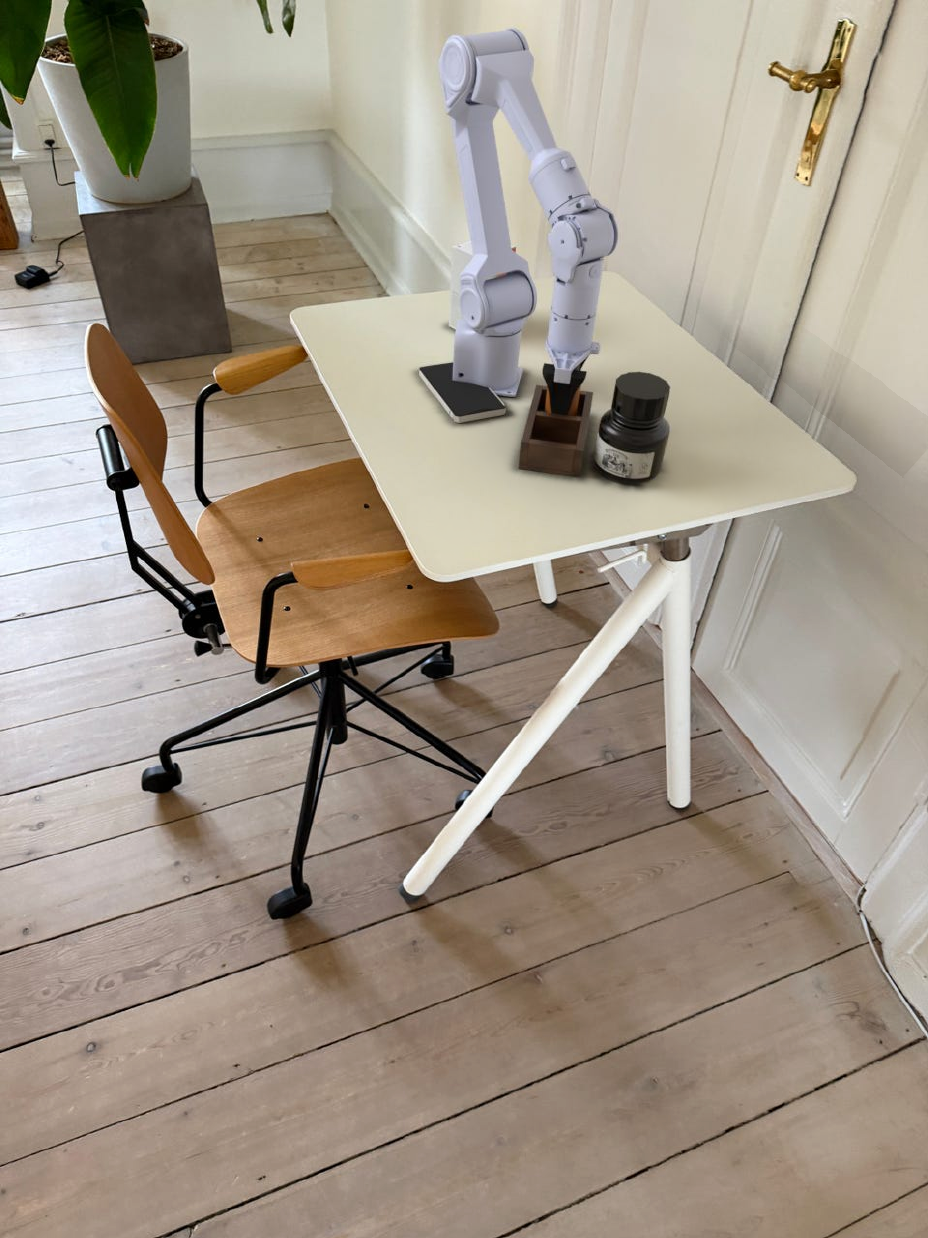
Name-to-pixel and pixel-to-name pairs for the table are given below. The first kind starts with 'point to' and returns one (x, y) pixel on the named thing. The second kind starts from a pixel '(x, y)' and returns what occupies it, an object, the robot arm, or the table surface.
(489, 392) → the smartphone
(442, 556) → the table surface
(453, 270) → the small box
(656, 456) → the ink bottle
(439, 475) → the table surface
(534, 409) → the holder
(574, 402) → the spice bottle
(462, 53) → the robot arm
